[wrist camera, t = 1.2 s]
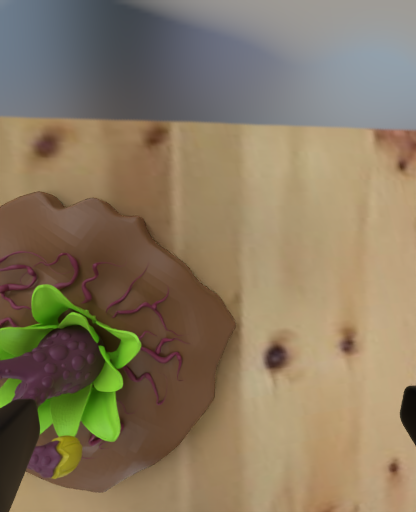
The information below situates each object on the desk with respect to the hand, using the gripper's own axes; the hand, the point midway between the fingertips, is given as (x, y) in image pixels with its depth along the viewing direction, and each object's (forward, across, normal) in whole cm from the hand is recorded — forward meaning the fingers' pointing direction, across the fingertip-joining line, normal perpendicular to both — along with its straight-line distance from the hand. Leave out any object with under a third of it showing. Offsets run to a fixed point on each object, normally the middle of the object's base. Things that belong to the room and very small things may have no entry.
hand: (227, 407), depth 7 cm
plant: (+14, +8, +6) cm, 18 cm away
